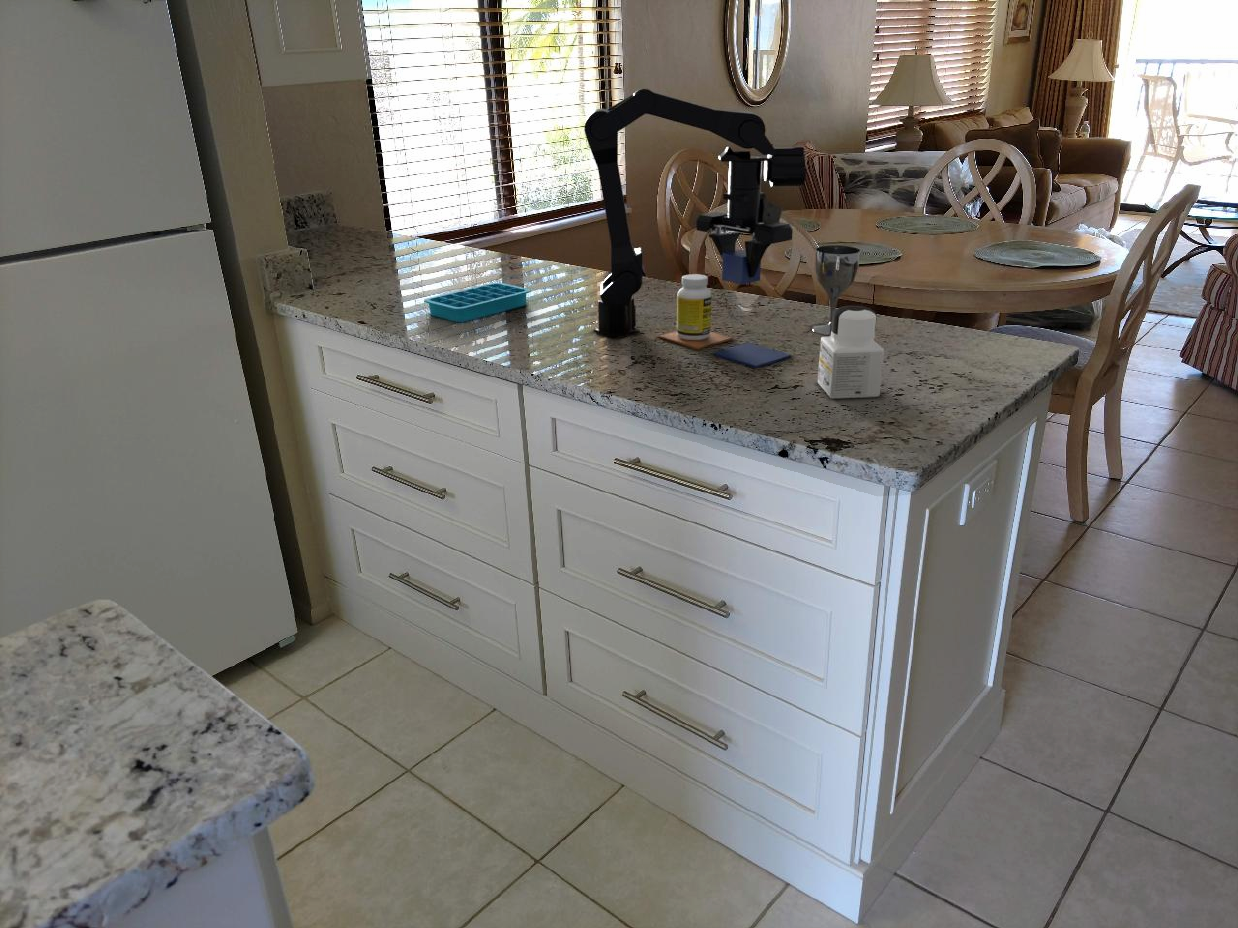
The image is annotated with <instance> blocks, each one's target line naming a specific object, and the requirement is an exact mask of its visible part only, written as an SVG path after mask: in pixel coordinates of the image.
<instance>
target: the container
mask: <svg viewBox="0 0 1238 928" xmlns="http://www.w3.org/2000/svg"><path fill="white" fill-rule="evenodd" d="M877 318H878V314H877V312H876V311H875V310H873V309H871V308H869V307H867V306H862V305H843V306H840V307H836V310H835V311H834V312H833V315H832V327H831V335H827V336H821V338H820V345H819V347H820V348H819V360H818V371H817V384H819V386H820V387H821V388H822V390H823V391H824V392H825V393H826V394H827V396H828V397H829V398H830V399H832V400H837V399H860V398H861V399H863V398H878V397H880V395H881V388H882V387H881V386H882V378H883V377H882V376H883V368H884V357H885V349H884V348H883V347H882V346H881V345H880V344H878V343H877V342H876V341H875V338H876V329H877V321H878V320H877Z"/></svg>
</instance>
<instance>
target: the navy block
mask: <svg viewBox="0 0 1238 928" xmlns="http://www.w3.org/2000/svg"><path fill="white" fill-rule="evenodd" d="M721 261H722V263H721V265H722V267H721V268H722V269H721V280H722V281H724V282H727V283H733V284H735V285H736V284H737V285H746V284H747V285H748V284H751V283H754V282H755V283H756V282H759V281H761V272H762V271H761V270H762V269H761V268H762V261H761V262H760V264H759V267H758V269H757V272H756V274H755V276H754V277H752V278H750V277H749V274H748V268H747V259H746V250H745V249H737V250H736V249H735V251H731V252H726V253H723V260H721Z"/></svg>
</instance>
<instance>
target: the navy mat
mask: <svg viewBox="0 0 1238 928" xmlns="http://www.w3.org/2000/svg"><path fill="white" fill-rule="evenodd" d="M712 355H713V356H716V357H718V358H722V359H726V360H729V361H732V362H735V363H739V364H742V365H745V366H748V367H751V368H754V369H757V368H760V367H763V366H768V365H770V364H773V363H777V362H779V361H783V360H787V359H790V358H792V354H789V353H786V352H782V351H779V350H775V349H772V348H768V347H765V346H762V345H758V344H755V343H751V342H746V343H742V344H739V345H735V346H732V347H731V346H730V347H729V348H725V349H720V350H718V351H715V352H713V353H712Z"/></svg>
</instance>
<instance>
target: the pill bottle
mask: <svg viewBox="0 0 1238 928" xmlns="http://www.w3.org/2000/svg"><path fill="white" fill-rule="evenodd" d="M708 284H709V277H708V276H707V275H705V274H698V273H692V274H685V275H682V276H681V286H682V287H681V288H680V289H678V290H677V296H676V302H677V303H676V331H677V336H678V337H679V338H681V339H685V340H703V339H706V338H708V337H709V336H710V332H711V326H712V325H711V324H712V323H711V322H712V291H711V289H709V288H708V287H707V286H708Z"/></svg>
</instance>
